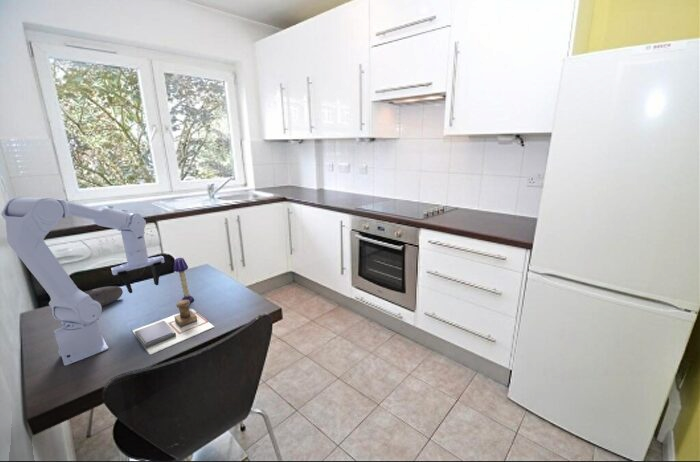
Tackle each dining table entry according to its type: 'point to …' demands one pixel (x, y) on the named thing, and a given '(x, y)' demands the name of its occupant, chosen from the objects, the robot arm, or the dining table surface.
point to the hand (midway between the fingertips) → (143, 288)
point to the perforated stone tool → (105, 294)
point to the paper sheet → (179, 331)
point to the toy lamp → (182, 277)
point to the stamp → (185, 314)
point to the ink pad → (155, 334)
